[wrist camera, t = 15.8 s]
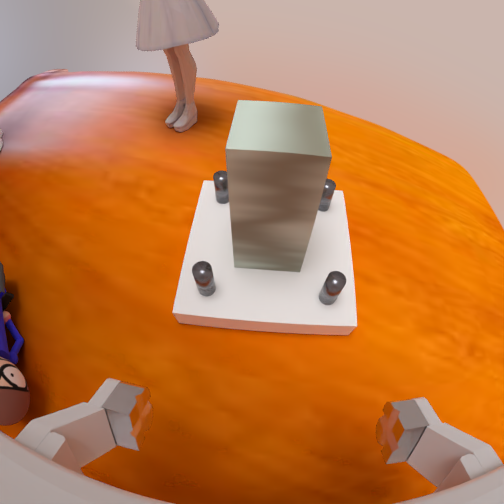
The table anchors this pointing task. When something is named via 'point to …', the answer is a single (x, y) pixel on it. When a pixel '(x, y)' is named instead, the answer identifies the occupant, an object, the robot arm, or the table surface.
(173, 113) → the figurine
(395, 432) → the robot arm
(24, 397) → the character figurine
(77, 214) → the table surface
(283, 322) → the display base
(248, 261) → the sage block
